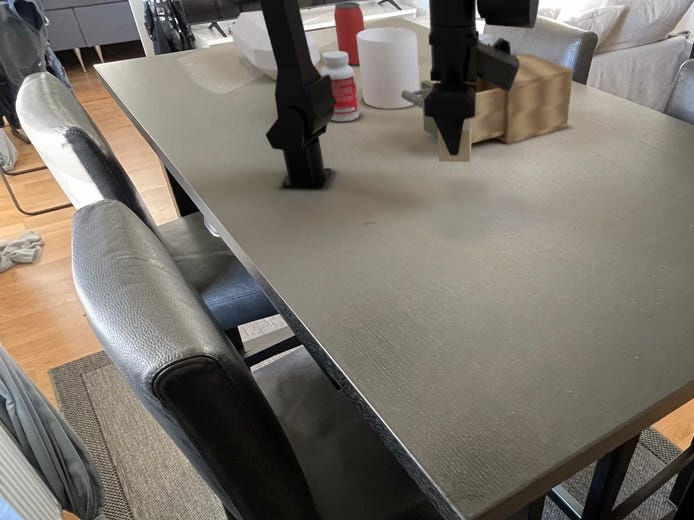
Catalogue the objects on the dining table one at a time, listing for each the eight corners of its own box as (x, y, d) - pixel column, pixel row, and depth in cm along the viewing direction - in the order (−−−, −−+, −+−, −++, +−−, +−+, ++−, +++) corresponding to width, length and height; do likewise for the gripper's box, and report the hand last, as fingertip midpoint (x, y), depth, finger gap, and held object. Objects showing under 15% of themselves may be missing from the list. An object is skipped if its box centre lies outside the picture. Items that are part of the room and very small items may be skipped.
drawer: (431, 157, 98) (429, 105, 92) (396, 136, 105) (392, 86, 99) (519, 133, 106) (522, 84, 101) (482, 116, 113) (483, 68, 107)
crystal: (253, 37, 121) (222, 10, 138) (265, 87, 127) (234, 56, 145) (321, 29, 126) (283, 5, 144) (328, 78, 133) (291, 49, 150)
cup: (367, 110, 117) (360, 43, 109) (360, 92, 125) (353, 28, 117) (425, 106, 119) (421, 40, 111) (414, 89, 128) (410, 26, 119)
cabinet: (507, 143, 105) (509, 83, 98) (466, 123, 113) (466, 65, 106) (566, 127, 112) (573, 69, 105) (524, 109, 119) (528, 53, 112)
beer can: (337, 60, 143) (329, 2, 135) (363, 57, 145) (357, 0, 137) (344, 67, 139) (336, 8, 131) (371, 64, 141) (365, 6, 133)
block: (470, 162, 82) (470, 130, 79) (438, 161, 82) (437, 129, 79) (471, 150, 85) (471, 119, 82) (441, 149, 86) (440, 118, 83)
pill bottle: (364, 118, 114) (357, 55, 106) (335, 124, 111) (325, 60, 104) (351, 109, 118) (343, 47, 110) (322, 115, 115) (312, 52, 107)
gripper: (519, 42, 66) (512, 177, 76) (516, 7, 79) (510, 126, 90) (420, 40, 66) (427, 175, 76) (434, 6, 79) (438, 124, 90)
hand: (455, 148), depth 83 cm, fingers closed on block, 4 cm apart
